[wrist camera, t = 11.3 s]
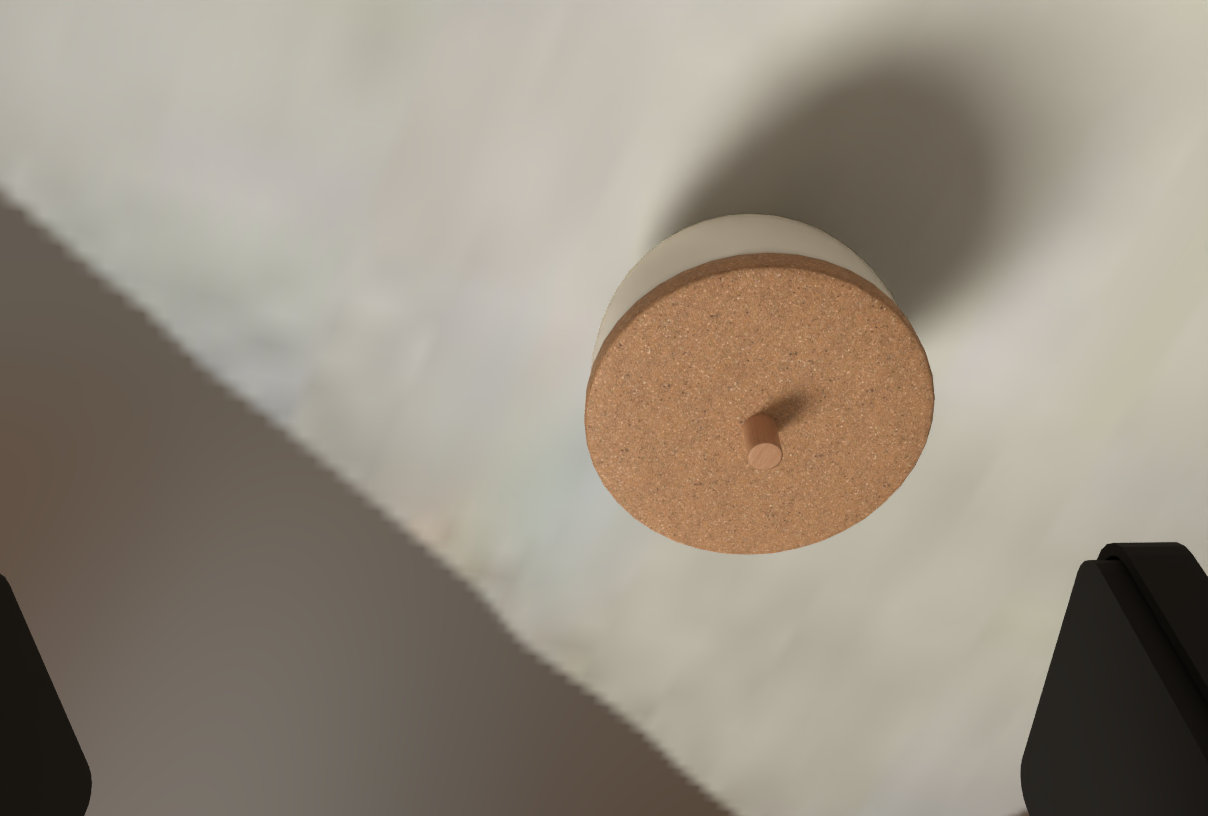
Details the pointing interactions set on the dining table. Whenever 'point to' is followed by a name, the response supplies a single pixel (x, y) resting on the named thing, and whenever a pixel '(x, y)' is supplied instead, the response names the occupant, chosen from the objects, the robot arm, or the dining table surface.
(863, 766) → the dining table surface
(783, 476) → the lidded jar
